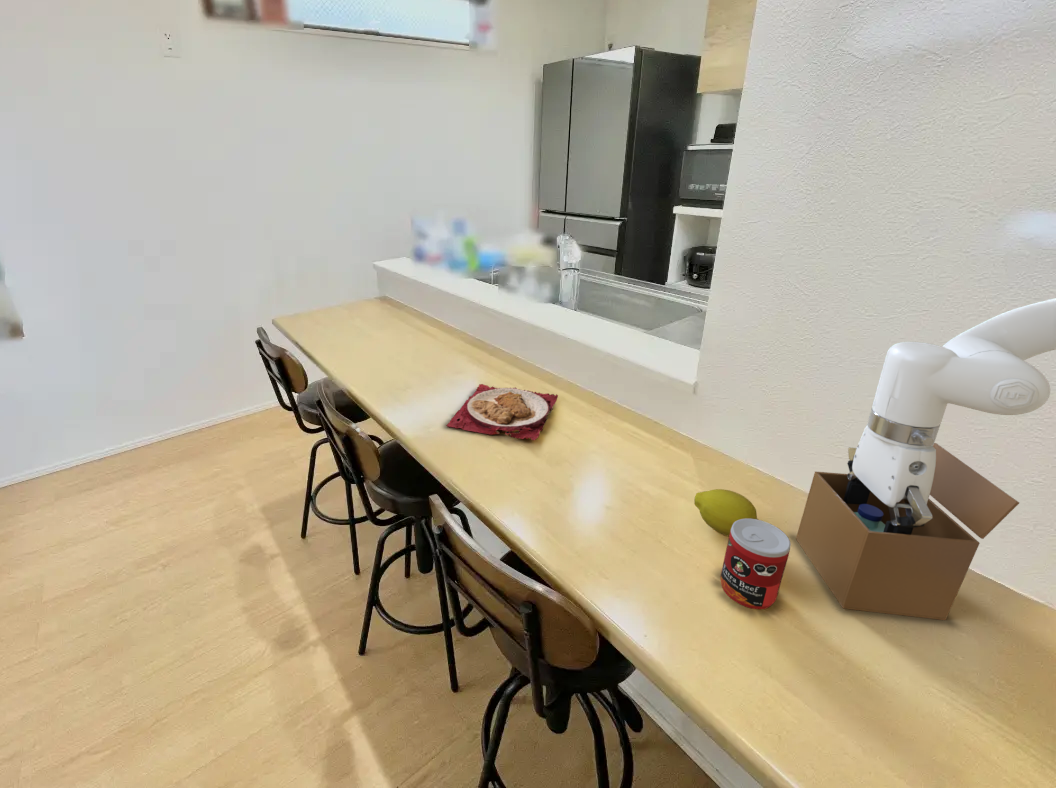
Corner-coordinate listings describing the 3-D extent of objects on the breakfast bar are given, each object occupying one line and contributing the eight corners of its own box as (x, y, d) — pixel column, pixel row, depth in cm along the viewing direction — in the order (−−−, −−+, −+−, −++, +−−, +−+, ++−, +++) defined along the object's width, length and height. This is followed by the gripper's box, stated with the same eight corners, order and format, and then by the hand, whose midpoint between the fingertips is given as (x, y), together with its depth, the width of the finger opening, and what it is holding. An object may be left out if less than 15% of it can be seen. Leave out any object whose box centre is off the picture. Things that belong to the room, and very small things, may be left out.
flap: (906, 474, 81) (908, 475, 81) (980, 538, 68) (983, 539, 68) (934, 442, 79) (936, 443, 79) (1017, 501, 65) (1020, 502, 65)
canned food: (708, 583, 80) (720, 528, 76) (739, 564, 83) (752, 511, 79) (754, 619, 73) (770, 561, 70) (786, 598, 77) (802, 541, 73)
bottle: (859, 560, 83) (880, 499, 79) (882, 589, 78) (906, 525, 73) (820, 556, 84) (839, 496, 80) (840, 584, 79) (861, 521, 74)
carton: (881, 547, 87) (905, 478, 82) (945, 620, 73) (980, 542, 68) (795, 538, 89) (814, 471, 84) (842, 608, 75) (868, 532, 70)
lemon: (762, 535, 90) (771, 498, 87) (746, 556, 85) (755, 519, 82) (702, 506, 97) (709, 471, 95) (684, 524, 92) (690, 488, 90)
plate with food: (558, 401, 141) (558, 390, 140) (536, 444, 118) (536, 431, 117) (480, 388, 149) (480, 378, 148) (445, 426, 127) (445, 414, 126)
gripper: (981, 461, 63) (942, 567, 69) (891, 400, 79) (865, 490, 85) (914, 458, 64) (881, 562, 70) (839, 398, 80) (817, 487, 86)
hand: (872, 522), depth 77 cm, fingers open, 9 cm apart
